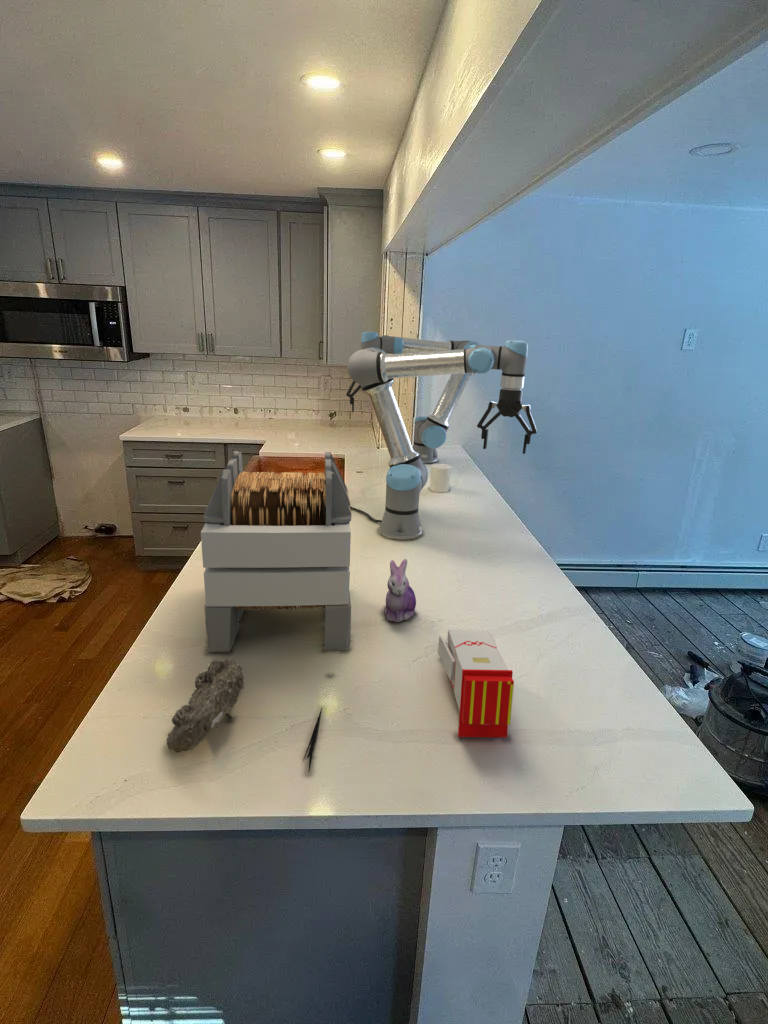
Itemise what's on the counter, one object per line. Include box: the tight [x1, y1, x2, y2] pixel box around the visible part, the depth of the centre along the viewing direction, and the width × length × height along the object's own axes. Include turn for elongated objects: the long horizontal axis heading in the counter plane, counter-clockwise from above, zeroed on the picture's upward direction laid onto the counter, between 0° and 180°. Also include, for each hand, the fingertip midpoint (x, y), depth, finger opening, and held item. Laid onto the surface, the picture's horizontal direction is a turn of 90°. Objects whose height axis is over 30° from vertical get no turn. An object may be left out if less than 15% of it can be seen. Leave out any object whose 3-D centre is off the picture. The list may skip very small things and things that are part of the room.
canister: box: [429, 463, 452, 493], centre depth 250 cm, size 8×8×11 cm
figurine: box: [384, 558, 417, 623], centre depth 145 cm, size 9×10×15 cm
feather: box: [301, 673, 332, 771], centre depth 108 cm, size 2×28×2 cm
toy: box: [437, 628, 515, 738], centre depth 117 cm, size 12×13×30 cm
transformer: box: [200, 450, 353, 653], centre depth 138 cm, size 34×33×41 cm
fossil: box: [166, 658, 245, 754], centre depth 106 cm, size 22×10×15 cm
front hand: (504, 450), depth 197 cm, fingers open, 13 cm apart
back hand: (367, 411), depth 272 cm, fingers open, 13 cm apart
